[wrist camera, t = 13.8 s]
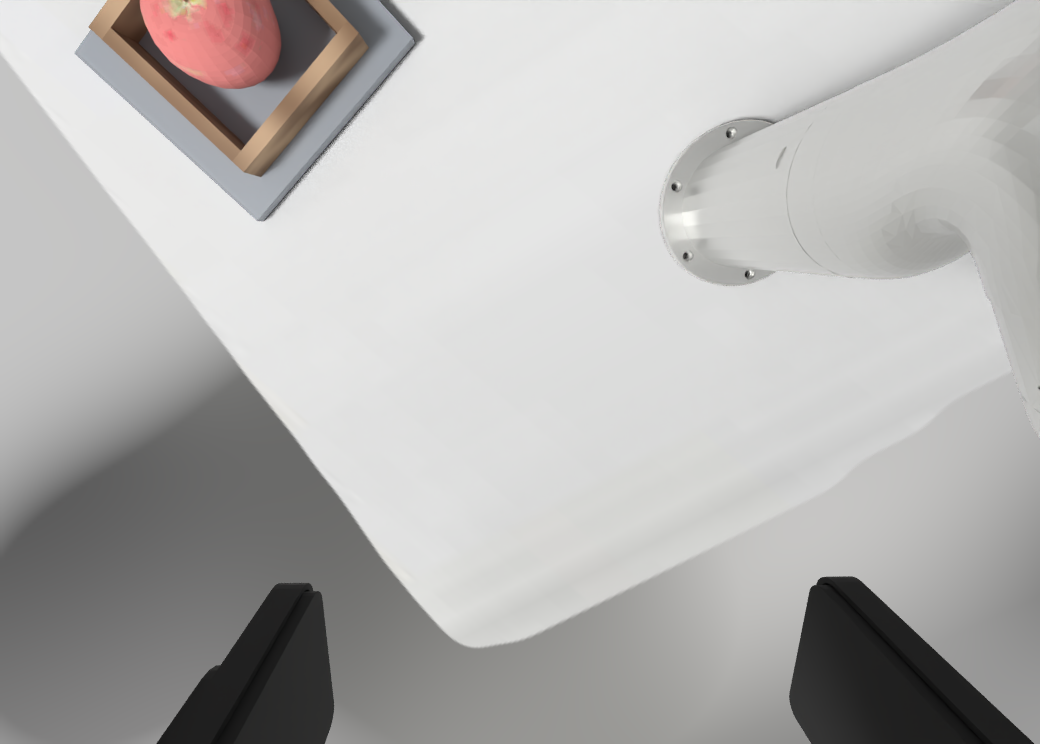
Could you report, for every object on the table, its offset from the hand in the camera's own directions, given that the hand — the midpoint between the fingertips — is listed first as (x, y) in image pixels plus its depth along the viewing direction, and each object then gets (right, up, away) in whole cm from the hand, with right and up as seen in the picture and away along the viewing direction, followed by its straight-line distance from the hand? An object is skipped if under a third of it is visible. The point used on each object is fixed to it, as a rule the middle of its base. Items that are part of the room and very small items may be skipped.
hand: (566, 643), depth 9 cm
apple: (-21, +29, +25) cm, 43 cm away
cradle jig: (-21, +29, +26) cm, 44 cm away
